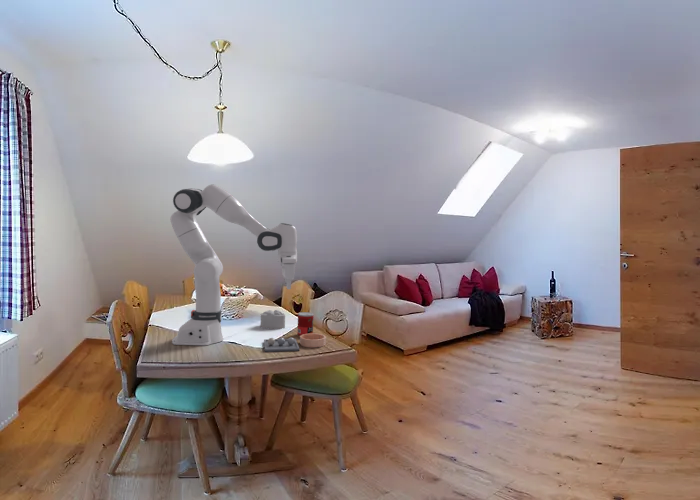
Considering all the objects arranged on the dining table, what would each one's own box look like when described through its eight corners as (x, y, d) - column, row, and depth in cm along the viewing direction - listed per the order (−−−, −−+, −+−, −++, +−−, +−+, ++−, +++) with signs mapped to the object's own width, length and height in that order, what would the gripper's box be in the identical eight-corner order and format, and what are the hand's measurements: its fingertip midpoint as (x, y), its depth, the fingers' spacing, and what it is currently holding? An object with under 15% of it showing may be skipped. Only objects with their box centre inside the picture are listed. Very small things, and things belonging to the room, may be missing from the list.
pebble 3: (287, 345, 189) (287, 338, 189) (286, 343, 193) (287, 336, 193) (295, 345, 190) (295, 338, 190) (294, 343, 194) (294, 336, 193)
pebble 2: (277, 346, 188) (277, 338, 188) (277, 344, 192) (277, 336, 192) (285, 345, 189) (285, 338, 189) (284, 343, 193) (284, 336, 192)
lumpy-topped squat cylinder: (267, 323, 234) (268, 308, 234) (288, 326, 231) (289, 310, 230) (258, 327, 225) (258, 311, 224) (279, 330, 221) (280, 314, 220)
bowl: (301, 347, 189) (301, 340, 189) (298, 340, 201) (298, 333, 201) (327, 347, 192) (327, 339, 192) (323, 340, 204) (323, 333, 203)
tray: (264, 351, 181) (265, 349, 181) (263, 342, 197) (264, 339, 196) (299, 350, 184) (299, 348, 184) (295, 341, 200) (295, 338, 200)
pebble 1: (267, 346, 187) (267, 339, 187) (267, 344, 191) (267, 337, 191) (275, 346, 188) (275, 338, 188) (274, 344, 191) (274, 336, 191)
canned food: (310, 337, 208) (311, 315, 207) (295, 336, 210) (295, 314, 209) (314, 333, 216) (315, 312, 215) (300, 332, 217) (300, 311, 217)
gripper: (279, 256, 203) (279, 284, 203) (282, 259, 183) (282, 291, 184) (292, 256, 204) (292, 284, 205) (296, 259, 184) (296, 290, 185)
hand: (287, 287), depth 194 cm, fingers open, 8 cm apart
